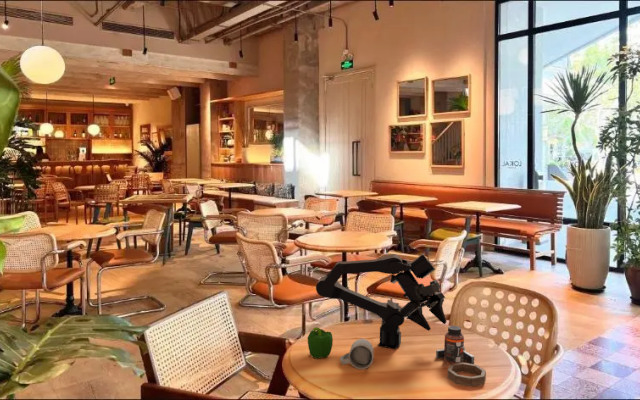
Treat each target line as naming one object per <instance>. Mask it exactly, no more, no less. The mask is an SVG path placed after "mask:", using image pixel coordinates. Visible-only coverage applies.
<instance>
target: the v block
mask: <svg viewBox="0 0 640 400" xmlns="http://www.w3.org/2000/svg"><path fill="white" fill-rule="evenodd" d="M435 358H437V359H444V348H442V349H436V350H435ZM463 361H465V362H466V363H469V364H474V365H475V356H474V355H473V354H471V353H469V352H468V351H467V350H466V346H465V345H464V350H463Z"/></svg>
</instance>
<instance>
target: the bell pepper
mask: <svg viewBox="0 0 640 400" xmlns="http://www.w3.org/2000/svg"><path fill="white" fill-rule="evenodd" d="M333 341H334V340H333V334H332V332H331V331H326V330H323V329H322V328H320V327H317V326H316V327H314V328H312V330H310V332H309V334H308V335H307V345H308V351H309V355H310V356H311V357H312V358H313V359H322V358H328V357H329V356H330V354H331V351H332V348H333V345H334V342H333Z"/></svg>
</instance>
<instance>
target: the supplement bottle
mask: <svg viewBox="0 0 640 400" xmlns="http://www.w3.org/2000/svg"><path fill="white" fill-rule="evenodd" d="M464 343H465V337H464V335H463V333H462V327H460V326H458V325H449V326H448V327H447V332H445V334H444V345H443V347H444V348H443V349H444V358H443V361H444V362H445V363H447V364H448V365H450V364H456V363H462V362H463V363H464V359H463V350H464V346H465V345H464Z"/></svg>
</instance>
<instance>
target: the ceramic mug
mask: <svg viewBox="0 0 640 400" xmlns="http://www.w3.org/2000/svg"><path fill="white" fill-rule="evenodd" d="M339 362H340V364H341V365H349V364H350V365H351V366H352V367H354V369H357V370H366V369H367V368H369V367H370V366H372V363H373V362H374V347H373V345H372V343H371V342H370V341H369V340H367V339H365V338H360V339H359V338H358V339H357V340H355V341H354V342H353V343H352V345H351V347H350V349H349V352H348V353H346V354H344V355H342V356H340V358H339Z"/></svg>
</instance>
